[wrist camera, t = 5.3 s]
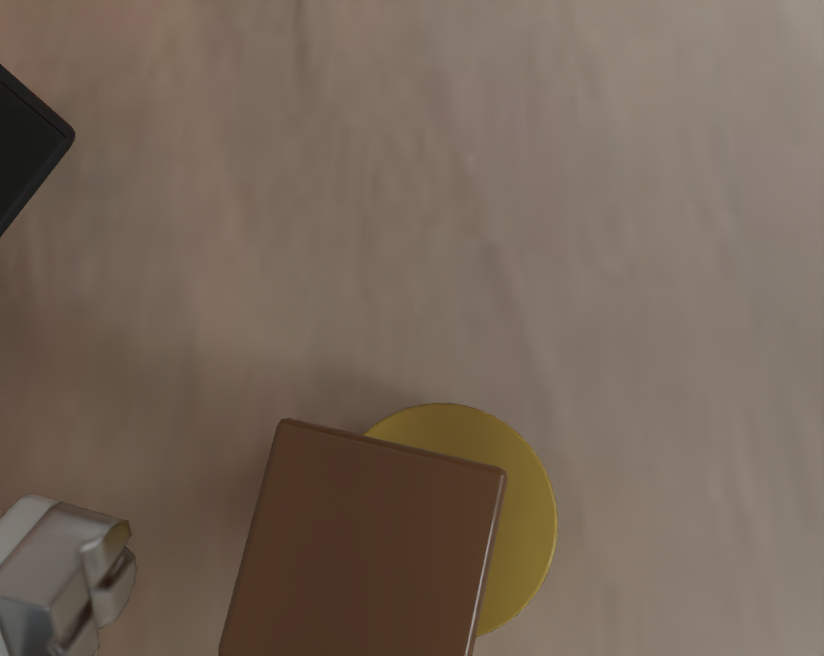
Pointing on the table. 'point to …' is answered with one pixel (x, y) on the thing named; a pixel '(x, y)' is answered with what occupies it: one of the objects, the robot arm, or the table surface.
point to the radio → (26, 145)
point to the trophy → (392, 538)
